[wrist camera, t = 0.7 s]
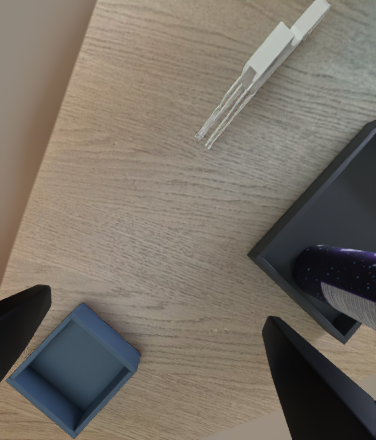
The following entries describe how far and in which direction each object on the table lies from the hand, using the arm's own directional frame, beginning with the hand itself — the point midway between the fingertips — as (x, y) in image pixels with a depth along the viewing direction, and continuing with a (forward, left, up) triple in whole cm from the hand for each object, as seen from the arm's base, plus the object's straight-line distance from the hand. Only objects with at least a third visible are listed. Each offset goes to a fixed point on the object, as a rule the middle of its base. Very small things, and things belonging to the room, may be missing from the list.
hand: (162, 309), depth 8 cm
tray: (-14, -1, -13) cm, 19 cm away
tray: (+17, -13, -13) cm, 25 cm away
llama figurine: (+20, +6, -14) cm, 25 cm away
